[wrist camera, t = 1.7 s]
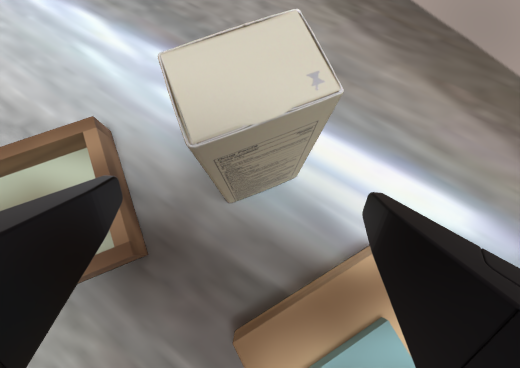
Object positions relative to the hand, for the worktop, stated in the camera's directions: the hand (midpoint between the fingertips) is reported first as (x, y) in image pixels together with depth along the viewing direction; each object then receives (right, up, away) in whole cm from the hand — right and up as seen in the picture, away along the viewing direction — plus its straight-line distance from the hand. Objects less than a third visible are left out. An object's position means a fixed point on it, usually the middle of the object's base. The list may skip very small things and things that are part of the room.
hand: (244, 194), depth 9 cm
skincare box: (0, +2, +12) cm, 12 cm away
